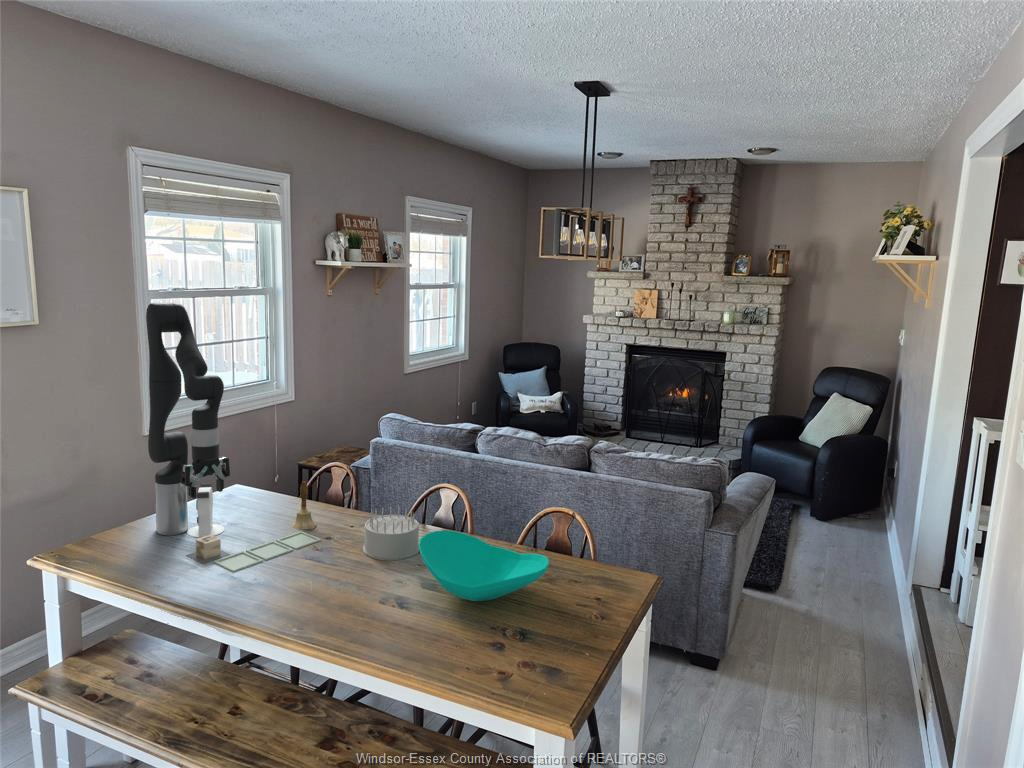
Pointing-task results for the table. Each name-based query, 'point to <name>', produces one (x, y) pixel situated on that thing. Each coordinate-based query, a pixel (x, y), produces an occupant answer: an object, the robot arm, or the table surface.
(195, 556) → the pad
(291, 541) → the tray
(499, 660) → the table surface
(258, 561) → the tray
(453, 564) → the table top decor
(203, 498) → the white post on base
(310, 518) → the hand bell
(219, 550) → the letter cube
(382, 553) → the cake
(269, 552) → the tray
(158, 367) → the robot arm
